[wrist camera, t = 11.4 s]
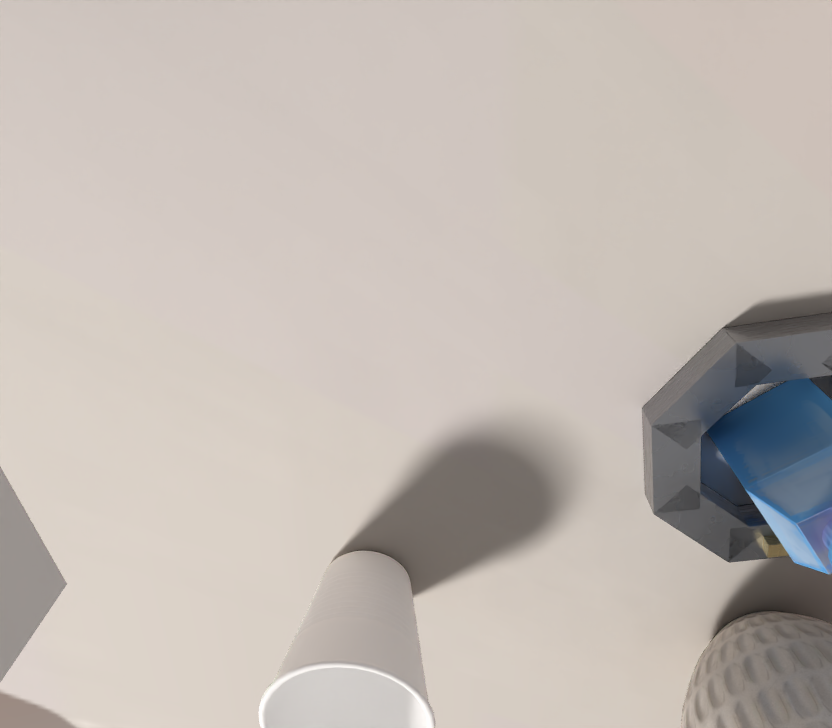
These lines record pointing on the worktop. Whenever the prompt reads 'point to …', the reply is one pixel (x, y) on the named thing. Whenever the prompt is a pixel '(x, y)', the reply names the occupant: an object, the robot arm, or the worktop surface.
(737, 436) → the perfume bottle
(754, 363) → the ring
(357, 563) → the cup
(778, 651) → the vase
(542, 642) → the worktop surface
